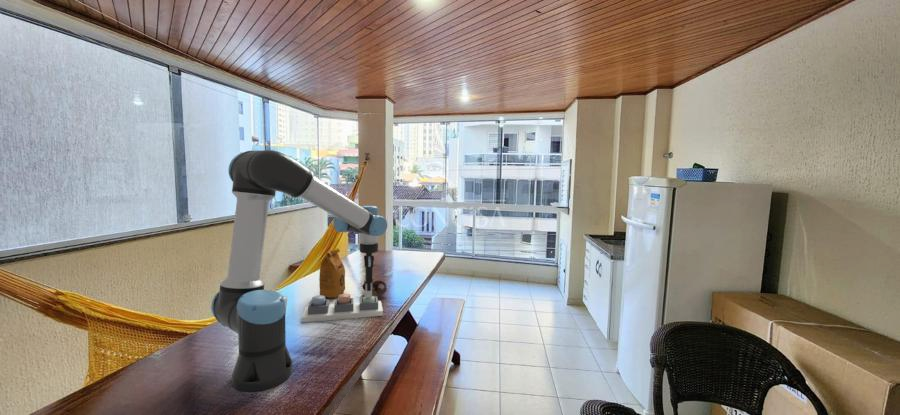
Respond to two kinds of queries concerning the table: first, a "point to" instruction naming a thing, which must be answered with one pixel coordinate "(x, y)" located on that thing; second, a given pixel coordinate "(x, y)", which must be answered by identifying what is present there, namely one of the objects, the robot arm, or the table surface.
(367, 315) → the button panel
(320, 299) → the slate button
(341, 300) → the terracotta button
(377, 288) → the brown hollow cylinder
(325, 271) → the coffee package
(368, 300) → the sage button
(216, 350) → the table surface
